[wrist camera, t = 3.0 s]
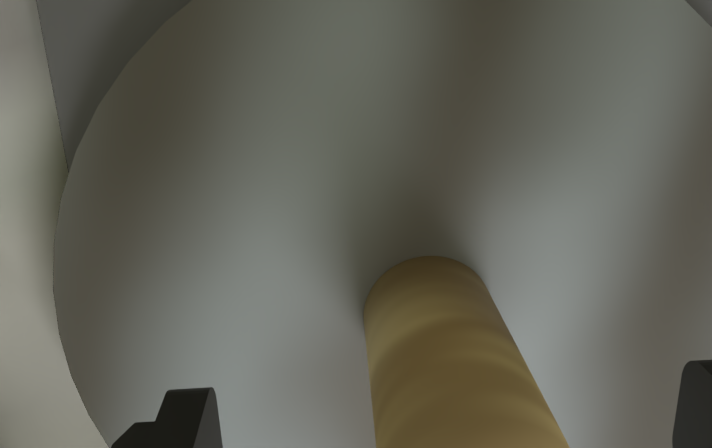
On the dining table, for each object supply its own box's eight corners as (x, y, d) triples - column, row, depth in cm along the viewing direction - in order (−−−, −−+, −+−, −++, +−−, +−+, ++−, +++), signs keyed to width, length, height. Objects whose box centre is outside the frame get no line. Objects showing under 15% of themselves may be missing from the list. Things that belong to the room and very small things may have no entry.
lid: (830, -97, 14) (1295, -175, 7) (713, 545, 19) (910, 832, 13) (-1, -65, 13) (-325, -118, 7) (127, 579, 19) (21, 892, 12)
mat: (785, -67, 14) (803, -70, 14) (688, 518, 20) (699, 533, 19) (41, -39, 14) (28, -40, 13) (148, 549, 19) (142, 565, 19)
